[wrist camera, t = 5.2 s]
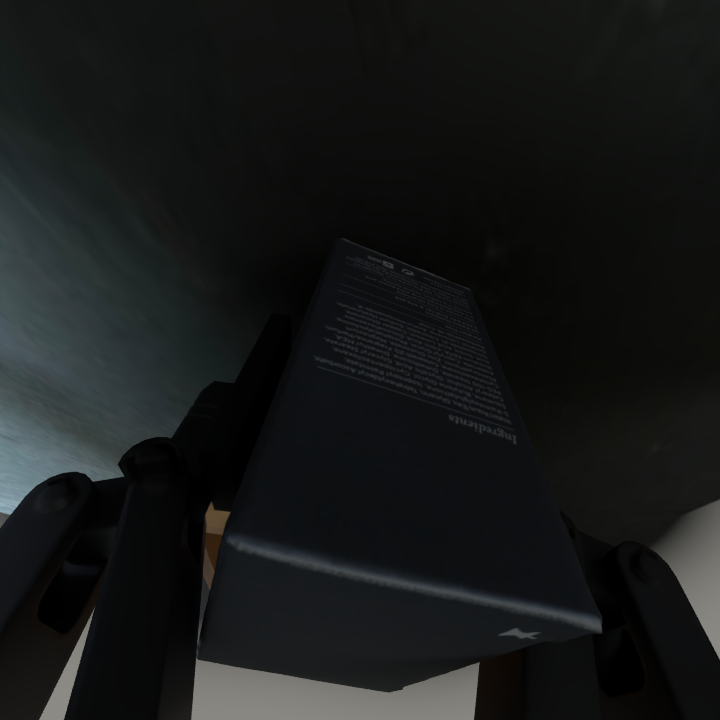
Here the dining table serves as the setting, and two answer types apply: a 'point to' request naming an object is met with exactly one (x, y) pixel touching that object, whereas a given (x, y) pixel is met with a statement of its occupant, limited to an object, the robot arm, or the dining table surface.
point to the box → (391, 498)
